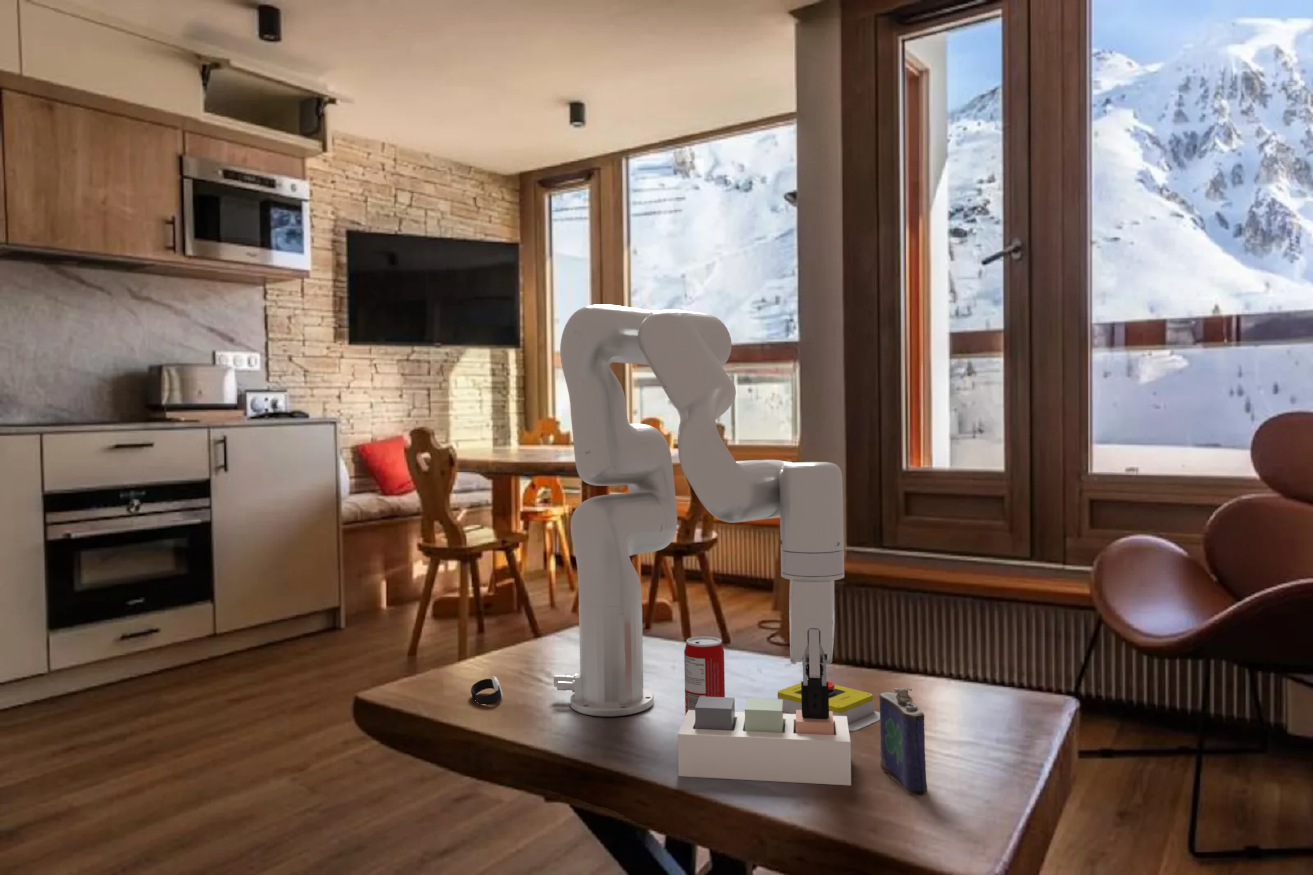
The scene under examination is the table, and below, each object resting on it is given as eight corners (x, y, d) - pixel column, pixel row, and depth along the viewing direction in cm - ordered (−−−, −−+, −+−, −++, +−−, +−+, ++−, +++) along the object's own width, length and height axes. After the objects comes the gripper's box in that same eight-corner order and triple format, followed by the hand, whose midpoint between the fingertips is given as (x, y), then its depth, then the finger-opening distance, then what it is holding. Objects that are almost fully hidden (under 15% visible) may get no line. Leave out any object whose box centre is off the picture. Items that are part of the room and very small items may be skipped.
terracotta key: (796, 755, 100) (795, 721, 100) (796, 742, 105) (796, 709, 105) (834, 757, 100) (833, 723, 100) (832, 743, 104) (832, 711, 104)
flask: (876, 765, 103) (875, 677, 103) (899, 763, 103) (898, 675, 103) (909, 797, 94) (908, 700, 94) (934, 795, 94) (933, 699, 94)
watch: (508, 705, 129) (508, 681, 129) (477, 710, 127) (477, 685, 127) (495, 691, 136) (494, 669, 136) (466, 696, 134) (465, 673, 134)
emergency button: (803, 669, 132) (889, 688, 121) (804, 697, 132) (890, 719, 121) (765, 681, 125) (852, 703, 114) (766, 711, 125) (853, 736, 114)
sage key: (745, 742, 101) (744, 709, 101) (747, 730, 106) (747, 698, 106) (782, 744, 101) (781, 710, 101) (783, 731, 105) (782, 699, 105)
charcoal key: (695, 740, 103) (695, 707, 103) (700, 728, 107) (699, 696, 107) (731, 742, 102) (731, 708, 102) (735, 729, 106) (734, 697, 106)
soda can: (727, 718, 121) (726, 634, 121) (722, 732, 115) (720, 644, 115) (689, 716, 122) (687, 633, 122) (682, 729, 117) (680, 642, 117)
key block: (678, 776, 101) (677, 734, 101) (688, 748, 109) (688, 709, 109) (851, 785, 97) (850, 741, 97) (847, 756, 106) (846, 716, 106)
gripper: (782, 555, 110) (785, 697, 110) (778, 574, 95) (782, 737, 95) (841, 556, 109) (844, 698, 109) (847, 574, 94) (850, 739, 94)
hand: (815, 716), depth 102 cm, fingers closed
